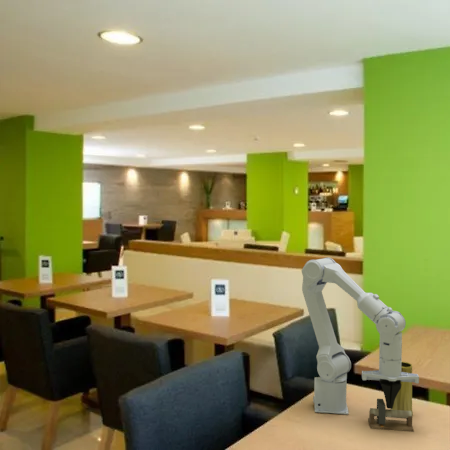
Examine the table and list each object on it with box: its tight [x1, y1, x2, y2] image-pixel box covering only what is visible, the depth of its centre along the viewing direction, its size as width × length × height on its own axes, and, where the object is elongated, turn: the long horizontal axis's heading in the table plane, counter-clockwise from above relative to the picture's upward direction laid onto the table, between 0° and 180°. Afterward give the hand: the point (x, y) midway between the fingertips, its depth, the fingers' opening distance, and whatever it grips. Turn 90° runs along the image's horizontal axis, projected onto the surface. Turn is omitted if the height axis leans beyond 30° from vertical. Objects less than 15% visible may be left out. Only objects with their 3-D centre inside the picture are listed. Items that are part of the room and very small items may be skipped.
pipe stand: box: [367, 407, 414, 432], centre depth 134 cm, size 11×5×4 cm, turn 81°
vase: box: [390, 361, 414, 416], centre depth 142 cm, size 6×6×14 cm
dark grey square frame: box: [376, 398, 387, 424], centre depth 134 cm, size 2×4×5 cm, turn 171°
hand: (389, 407), depth 134 cm, fingers closed
